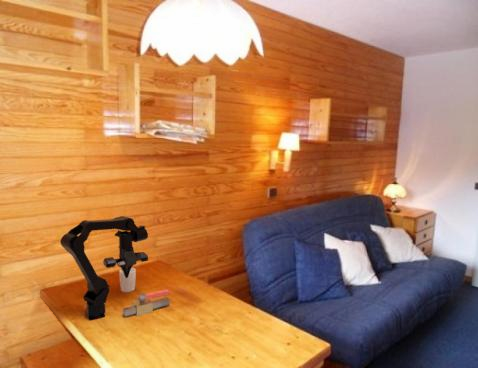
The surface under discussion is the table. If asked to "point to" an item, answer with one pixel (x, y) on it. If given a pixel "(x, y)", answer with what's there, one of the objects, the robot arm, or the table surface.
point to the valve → (145, 307)
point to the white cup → (127, 280)
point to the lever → (153, 295)
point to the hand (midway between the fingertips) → (126, 277)
